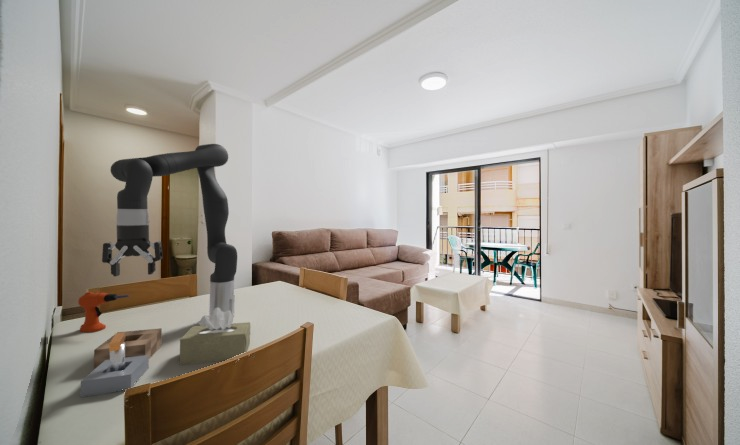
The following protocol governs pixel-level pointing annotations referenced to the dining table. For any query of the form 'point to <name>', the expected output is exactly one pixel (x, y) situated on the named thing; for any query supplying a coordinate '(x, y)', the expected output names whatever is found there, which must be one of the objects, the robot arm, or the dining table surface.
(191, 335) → the tissue box
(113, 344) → the bar
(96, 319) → the toy drill
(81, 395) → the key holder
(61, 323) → the dining table surface
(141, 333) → the block
